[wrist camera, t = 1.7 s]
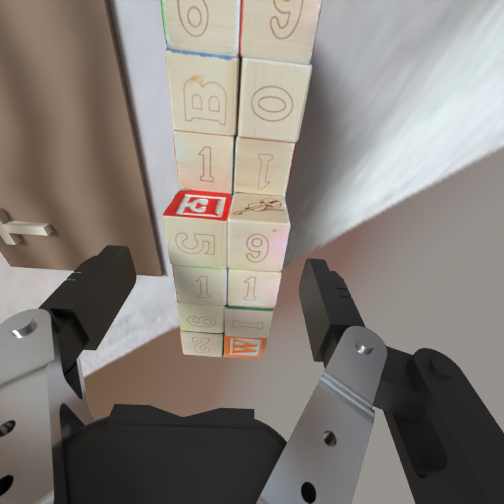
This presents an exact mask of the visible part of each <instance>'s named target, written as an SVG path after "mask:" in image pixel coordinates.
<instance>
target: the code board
mask: <svg viewBox="0 0 504 504" xmlns="http://www.w3.org/2000/svg"><path fill="white" fill-rule="evenodd" d="M107 245H118V246H127V247H128V248H129V249H130V253H131V256H132V260H133V263H134V267H135V270H136V275H147V276H162V275H163V268H162V263H161V258H160V253H159V248H158V243H157V239H156V234H155V229H154V224H153V219H152V214H151V209H150V204H149V199H148V194H147V189H146V184H145V179H144V174H143V169H142V164H141V159H140V154H139V149H138V144H137V140H136V135H135V130H134V125H133V120H132V115H131V110H130V105H129V100H128V95H127V90H126V85H125V80H124V75H123V70H122V65H121V60H120V55H119V50H118V45H117V41H116V36H115V31H114V26H113V21H112V16H111V11H110V6H109V1H108V0H0V252H1V253H2V255H3V256H4V257H5V259H6V260H7V262H8V263H9V264H10V266H12V267H27V268H42V269H57V270H72V271H75V270H76V269H77V268H78V266H79V265H80V264H81V263H82V262H84V261H86V260H88V259H89V258H91V257H93V256H94V255H95V256H97V255H98V254H99V253H100V252H101V251H102V250H103V249H104V248H105V247H106V246H107Z"/></svg>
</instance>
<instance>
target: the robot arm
mask: <svg viewBox="0 0 504 504" xmlns="http://www.w3.org/2000/svg"><path fill="white" fill-rule="evenodd" d="M135 282H136V270H135V267H134V263H133V260H132V256H131V253H130V249H129V248H128V247H127V246H118V245H107V246H106V247H105V248H104V249H103V250H102V251H101V252H100V253H99V254H98V255H97V256H95V255H94V256H93V257H91V258H89V259H88V260H86V261H84V262H82V263H81V264H80V265H79V266H78V268H77V269H76V270H75V271H74V273H72V274H71V275H70V276H69V277H68V278H67V281H66V280H65V281H64V282H63V283H62V284H61V285H60V286H59V287H58V288H57V289H56V290H55V291H54V292H53V293H52V295H51V296H50V297H49V298H48V299H47V300H46V301H45V302H44V303H43V304H42V305H41V306H40V307H39V308H38V309H31V310H27V311H23V312H20V313H18V314H16V315H14V316H12V317H10V318H8V319H7V320H5V321H4V322H3V323H1V324H0V504H351V503H352V500H353V496H354V492H355V489H356V485H357V481H358V477H359V474H360V471H361V467H362V463H363V460H364V456H365V453H366V449H367V445H368V442H369V438H370V434H371V431H372V427H373V423H374V419H375V411H374V410H372V406H374V407H377V408H379V409H382V410H383V412H384V414H385V417H386V420H387V423H388V426H389V429H390V432H391V435H392V437H393V440H394V443H395V446H396V449H397V452H398V455H399V458H400V461H401V463H402V466H403V469H404V472H405V475H406V478H407V480H408V483H409V486H410V489H411V492H412V495H413V498H414V501H415V504H504V433H503V431H502V430H501V428H500V427H499V425H498V424H497V423H496V421H495V420H494V418H493V417H492V415H491V414H490V412H489V411H488V409H487V408H486V406H485V405H484V403H483V402H482V400H481V399H480V397H479V396H478V394H477V393H476V392H475V390H474V388H473V387H472V386H471V384H470V382H469V381H468V380H467V378H466V376H465V375H464V374H463V372H462V371H461V369H460V368H459V367H458V366H457V365H456V363H454V362H453V361H452V360H451V359H450V358H448V357H447V356H445V355H444V354H442V353H440V352H438V351H436V350H432V349H428V348H422V349H419V350H417V351H416V352H415V354H414V355H411V354H408V353H405V352H402V351H399V350H396V349H393V348H390V347H388V346H386V345H385V344H384V342H383V341H382V339H381V338H380V337H379V336H378V335H377V334H376V333H374V332H373V331H371V330H369V329H367V328H366V327H365V325H364V323H363V320H362V318H361V316H360V314H359V312H358V310H357V307H356V306H355V303H354V301H353V299H352V298H351V295H350V293H349V291H348V288H347V286H346V284H345V282H344V280H343V279H342V278H341V277H340V276H339V275H338V274H337V273H336V272H335V271H329V269H328V266H327V264H326V261H325V260H322V259H307V260H306V263H305V266H304V270H303V274H302V277H301V281H300V286H299V294H300V300H301V304H302V309H303V314H304V318H305V323H306V327H307V332H308V336H309V341H310V345H311V350H312V354H313V358H314V361H317V362H323V363H324V367H325V371H324V372H323V374H322V376H321V378H320V380H319V382H318V384H317V386H316V388H315V390H314V392H313V394H312V396H311V398H310V400H309V402H308V404H307V405H306V407H305V409H304V411H303V413H302V415H301V417H300V419H299V421H298V423H297V425H296V427H295V429H294V431H293V433H292V435H291V437H290V439H289V440H288V442H286V441H285V439H284V438H283V437H282V436H281V435H279V434H278V432H276V431H275V430H274V429H273V428H271V427H270V426H268V425H267V424H265V423H263V422H261V421H259V420H256V419H254V409H236V408H218V409H214V410H211V411H207V412H203V413H199V414H195V415H191V416H187V417H180V416H177V415H175V414H172V413H169V412H166V411H164V410H161V409H158V408H156V407H153V406H150V405H127V404H114V407H113V409H112V411H111V414H110V415H109V416H106V417H103V418H100V419H98V420H96V421H94V418H93V415H92V413H91V411H90V408H89V405H88V401H87V396H86V390H85V385H84V378H83V373H82V367H81V361H80V359H79V355H80V354H81V352H82V351H83V350H96V349H97V348H98V346H99V344H100V343H101V341H102V339H103V338H104V336H105V334H106V333H107V331H108V329H109V328H110V326H111V324H112V322H113V321H114V319H115V317H116V316H117V314H118V312H119V311H120V309H121V307H122V306H123V304H124V302H125V301H126V299H127V297H128V295H129V294H130V292H131V290H132V289H133V287H134V285H135Z"/></svg>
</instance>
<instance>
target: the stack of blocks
mask: <svg viewBox="0 0 504 504" xmlns="http://www.w3.org/2000/svg"><path fill="white" fill-rule="evenodd" d="M322 1H323V0H161V8H162V18H163V26H164V34H165V40H166V44H167V49H166V51H165V55H166V67H167V76H168V86H169V95H170V103H171V112H172V123H173V128H174V146H175V155H176V163H177V171H178V180H179V184H180V187H181V190H180V191H179V192H178V193H177V194H176V195H175V197H174V199H173V200H172V202H171V203H170V205H169V206H168V208H167V209H166V210H165V212H164V214H163V222H164V228H165V234H166V239H167V245H168V252H169V258H170V263H171V264H172V267H173V276H174V282H175V287H176V294H177V310H178V317H179V323H180V329H181V332H180V334H181V342H182V349H183V353H184V354H187V355H202V356H214V357H221V356H222V355H224V356H225V357H232V358H251V359H262V358H263V356H264V351H265V346H266V342H267V338H268V337H269V332H270V327H271V322H272V316H273V308H274V307H275V306H276V302H277V297H278V292H279V287H280V282H281V275H282V268H283V264H284V259H285V254H286V249H287V244H288V238H289V233H290V228H291V223H290V218H289V214H288V209H287V204H286V199H285V197H286V193H287V187H288V182H289V177H290V171H291V166H292V161H293V156H294V151H295V145H296V143H297V141H298V139H299V135H300V130H301V125H302V120H303V116H304V111H305V105H306V100H307V95H308V89H309V84H310V79H311V73H312V64H311V58H312V53H313V48H314V43H315V38H316V33H317V27H318V22H319V17H320V11H321V6H322Z"/></svg>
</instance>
